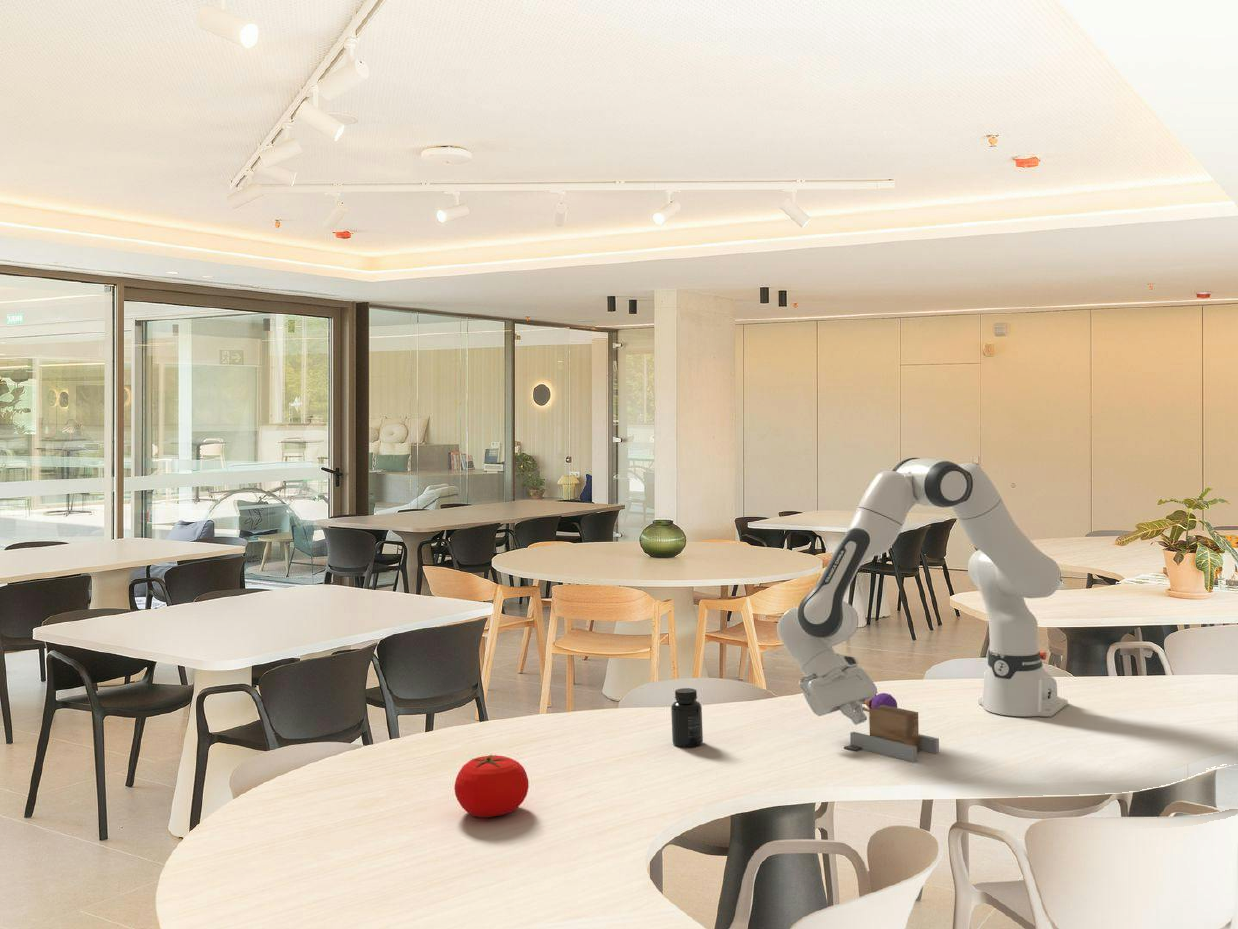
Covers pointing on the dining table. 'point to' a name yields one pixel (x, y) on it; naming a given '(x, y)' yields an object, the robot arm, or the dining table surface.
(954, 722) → the dining table surface
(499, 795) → the tomato
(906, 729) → the block
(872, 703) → the purple maraca
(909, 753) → the channel
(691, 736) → the supplement bottle
